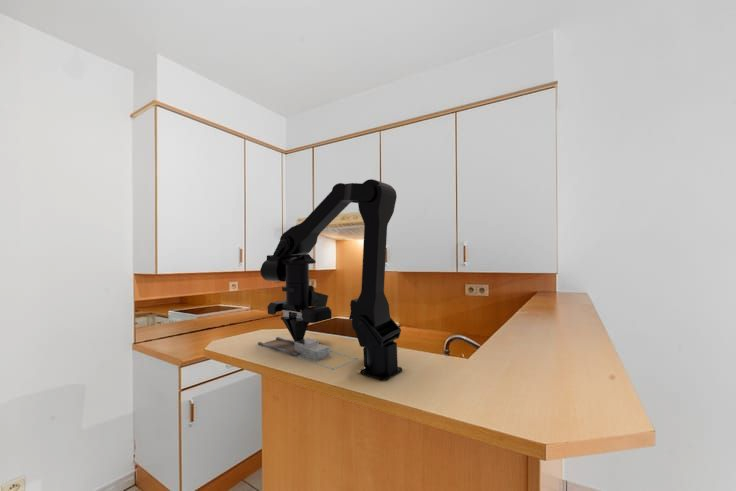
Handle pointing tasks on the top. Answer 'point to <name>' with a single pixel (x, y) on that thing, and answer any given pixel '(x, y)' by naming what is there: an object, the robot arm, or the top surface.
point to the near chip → (317, 352)
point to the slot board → (281, 346)
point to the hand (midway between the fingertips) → (299, 345)
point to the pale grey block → (304, 345)
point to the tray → (329, 367)
